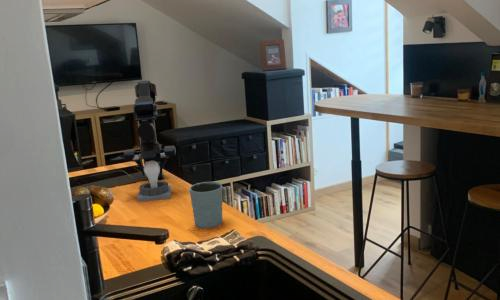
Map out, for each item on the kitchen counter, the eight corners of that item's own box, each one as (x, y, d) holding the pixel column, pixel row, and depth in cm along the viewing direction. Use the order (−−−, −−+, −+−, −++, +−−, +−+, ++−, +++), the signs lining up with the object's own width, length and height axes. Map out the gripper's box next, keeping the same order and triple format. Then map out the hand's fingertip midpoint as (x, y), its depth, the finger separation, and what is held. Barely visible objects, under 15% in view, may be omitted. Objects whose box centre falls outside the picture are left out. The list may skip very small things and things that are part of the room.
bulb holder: (140, 192, 186) (139, 182, 185) (171, 188, 187) (170, 179, 186) (137, 201, 174) (136, 191, 173) (170, 198, 175) (169, 187, 174)
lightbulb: (164, 186, 183) (161, 158, 180) (159, 191, 177) (156, 162, 174) (148, 186, 183) (145, 159, 181) (144, 191, 177) (140, 163, 175)
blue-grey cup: (208, 215, 155) (205, 180, 152) (232, 221, 148) (229, 184, 146) (186, 225, 147) (182, 188, 144) (209, 232, 141) (206, 193, 138)
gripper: (118, 141, 166) (124, 183, 170) (172, 136, 168) (177, 178, 172) (123, 135, 177) (128, 175, 181) (173, 130, 179) (177, 170, 183)
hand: (152, 175), depth 179 cm, fingers closed on lightbulb, 6 cm apart
